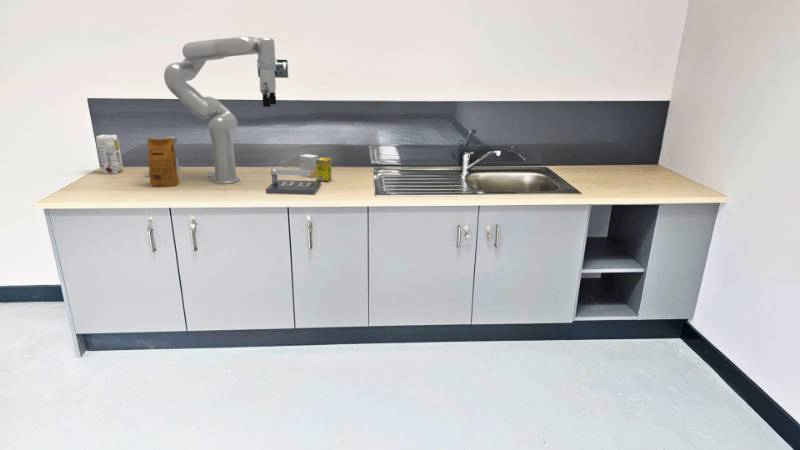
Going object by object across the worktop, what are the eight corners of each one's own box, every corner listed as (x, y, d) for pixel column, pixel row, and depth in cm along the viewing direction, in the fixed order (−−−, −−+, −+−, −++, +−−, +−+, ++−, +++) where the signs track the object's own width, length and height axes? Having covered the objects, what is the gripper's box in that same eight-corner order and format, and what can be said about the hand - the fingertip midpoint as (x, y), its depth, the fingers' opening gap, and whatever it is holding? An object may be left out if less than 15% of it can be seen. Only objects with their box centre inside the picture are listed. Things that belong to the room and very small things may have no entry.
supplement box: (328, 182, 245) (327, 160, 241) (316, 181, 246) (315, 159, 243) (331, 179, 251) (331, 158, 247) (320, 178, 252) (319, 157, 248)
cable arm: (270, 175, 229) (269, 170, 228) (272, 173, 232) (271, 168, 231) (314, 176, 229) (314, 171, 228) (315, 174, 232) (315, 169, 231)
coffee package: (154, 181, 240) (147, 136, 232) (181, 181, 242) (175, 136, 234) (147, 187, 231) (140, 140, 223) (176, 187, 232) (169, 139, 225)
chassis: (266, 193, 225) (265, 179, 223) (275, 184, 241) (274, 170, 238) (314, 194, 225) (314, 180, 223) (321, 185, 240) (320, 172, 238)
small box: (319, 175, 257) (318, 155, 254) (312, 178, 253) (311, 157, 249) (307, 173, 261) (306, 153, 258) (300, 175, 257) (299, 155, 253)
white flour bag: (117, 174, 251) (110, 136, 245) (100, 174, 251) (93, 136, 245) (125, 171, 258) (119, 134, 252) (108, 170, 258) (102, 133, 252)
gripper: (264, 65, 233) (267, 103, 239) (253, 67, 217) (256, 107, 223) (280, 66, 233) (282, 103, 239) (270, 67, 217) (272, 107, 223)
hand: (269, 105), depth 231 cm, fingers open, 9 cm apart
